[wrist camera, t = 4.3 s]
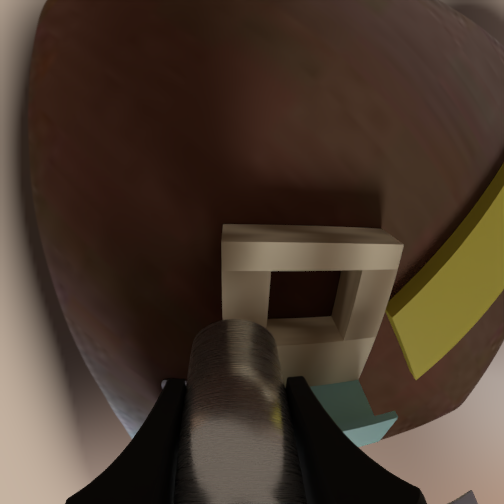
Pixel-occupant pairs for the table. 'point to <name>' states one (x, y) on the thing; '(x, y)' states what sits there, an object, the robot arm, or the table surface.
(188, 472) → the peg
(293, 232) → the socket block
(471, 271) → the flat olive board
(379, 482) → the robot arm
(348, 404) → the teal block
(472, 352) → the table surface
